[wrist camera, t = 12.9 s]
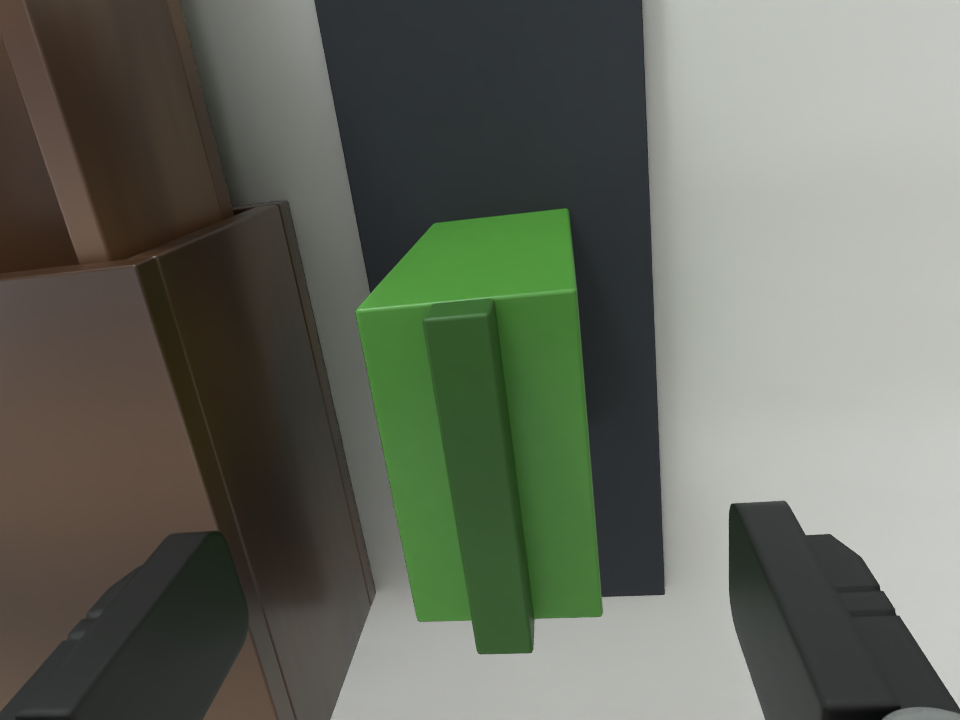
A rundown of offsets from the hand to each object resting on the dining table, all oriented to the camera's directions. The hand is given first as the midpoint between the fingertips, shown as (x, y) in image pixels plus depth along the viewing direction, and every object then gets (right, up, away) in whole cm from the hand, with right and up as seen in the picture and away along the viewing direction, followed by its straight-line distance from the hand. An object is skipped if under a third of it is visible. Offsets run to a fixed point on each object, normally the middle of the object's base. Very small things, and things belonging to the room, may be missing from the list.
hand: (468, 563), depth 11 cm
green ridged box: (+1, +4, +11) cm, 12 cm away
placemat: (+1, +4, +12) cm, 13 cm away
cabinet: (-12, 0, +15) cm, 19 cm away
